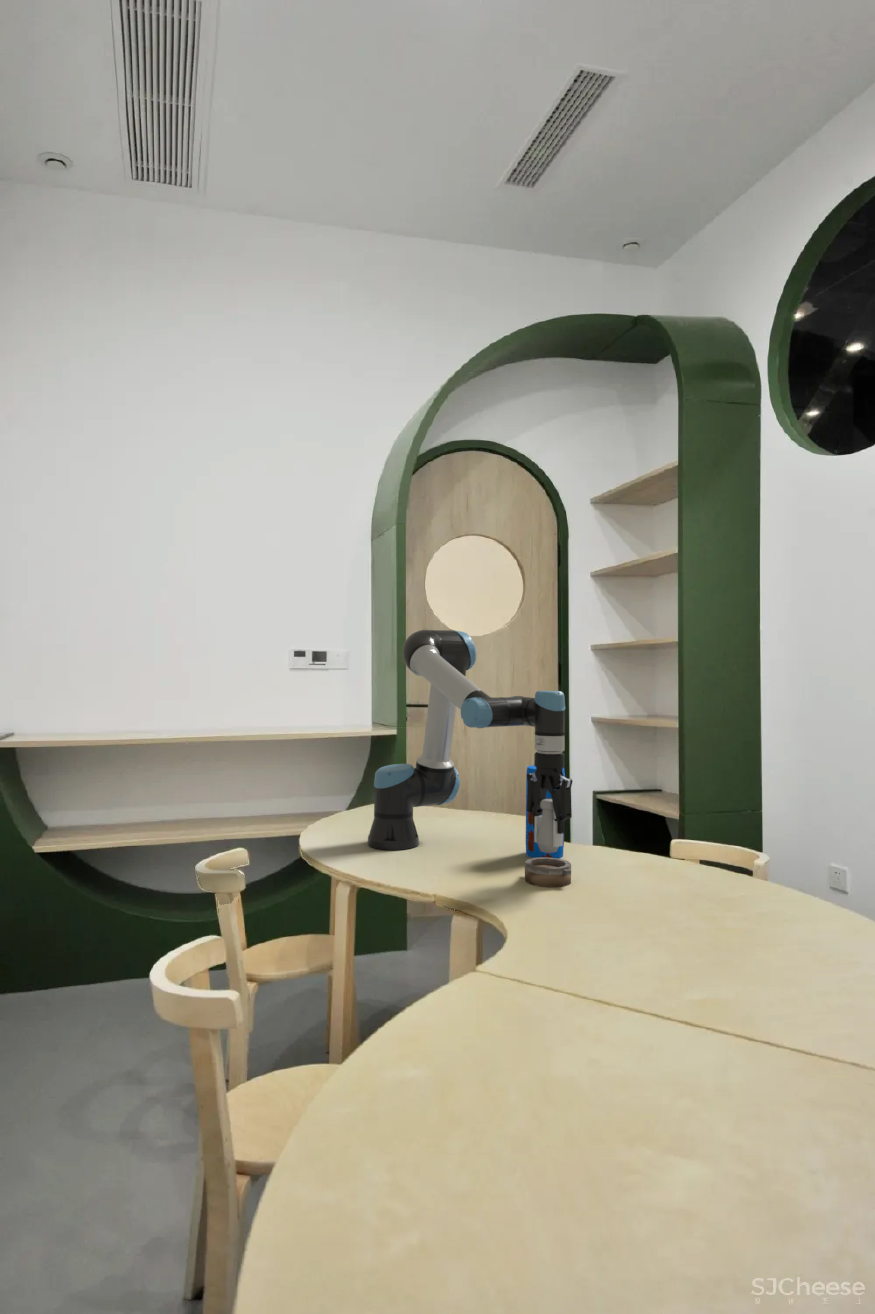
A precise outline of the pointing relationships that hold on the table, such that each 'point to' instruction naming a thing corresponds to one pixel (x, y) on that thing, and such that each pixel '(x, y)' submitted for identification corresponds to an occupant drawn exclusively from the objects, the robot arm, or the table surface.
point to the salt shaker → (546, 827)
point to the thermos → (532, 846)
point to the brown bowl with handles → (548, 872)
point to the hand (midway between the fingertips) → (548, 843)
